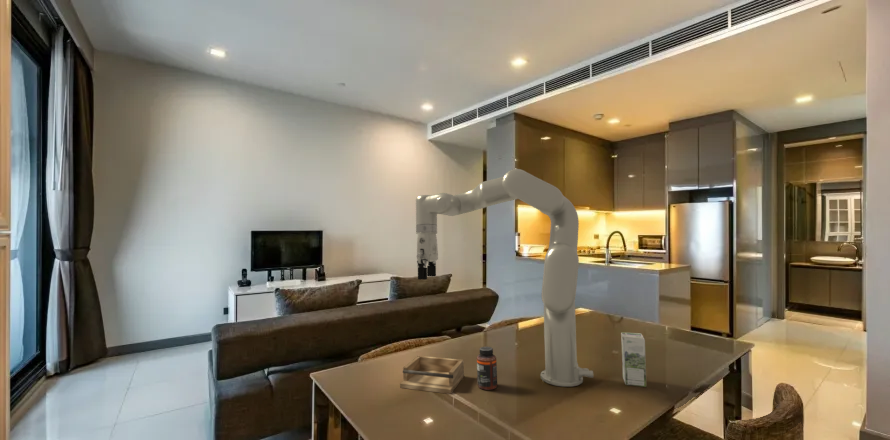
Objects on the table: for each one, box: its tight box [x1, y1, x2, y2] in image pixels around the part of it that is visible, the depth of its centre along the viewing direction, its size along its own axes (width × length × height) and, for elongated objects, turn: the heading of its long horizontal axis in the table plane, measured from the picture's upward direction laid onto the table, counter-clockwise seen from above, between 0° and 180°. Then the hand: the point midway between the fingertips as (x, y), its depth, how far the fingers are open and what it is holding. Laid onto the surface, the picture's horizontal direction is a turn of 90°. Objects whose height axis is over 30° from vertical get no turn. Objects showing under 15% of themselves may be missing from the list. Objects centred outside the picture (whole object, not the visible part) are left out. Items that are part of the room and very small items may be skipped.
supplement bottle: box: [476, 346, 498, 391], centre depth 109 cm, size 6×6×11 cm
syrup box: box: [620, 332, 647, 388], centre depth 110 cm, size 6×6×14 cm
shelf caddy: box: [399, 355, 465, 395], centre depth 113 cm, size 16×14×5 cm
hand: (427, 277), depth 129 cm, fingers open, 9 cm apart
